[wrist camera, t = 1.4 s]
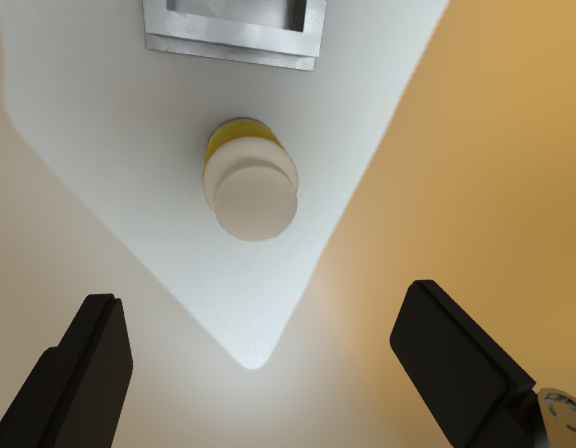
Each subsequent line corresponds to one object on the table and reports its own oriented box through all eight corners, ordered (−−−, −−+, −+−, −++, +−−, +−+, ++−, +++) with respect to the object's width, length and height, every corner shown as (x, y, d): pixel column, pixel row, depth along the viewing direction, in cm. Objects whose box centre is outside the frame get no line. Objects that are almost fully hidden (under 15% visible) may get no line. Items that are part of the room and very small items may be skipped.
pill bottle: (191, 147, 25) (172, 201, 15) (248, 99, 24) (266, 124, 14) (239, 198, 28) (248, 270, 18) (291, 158, 27) (330, 211, 17)
